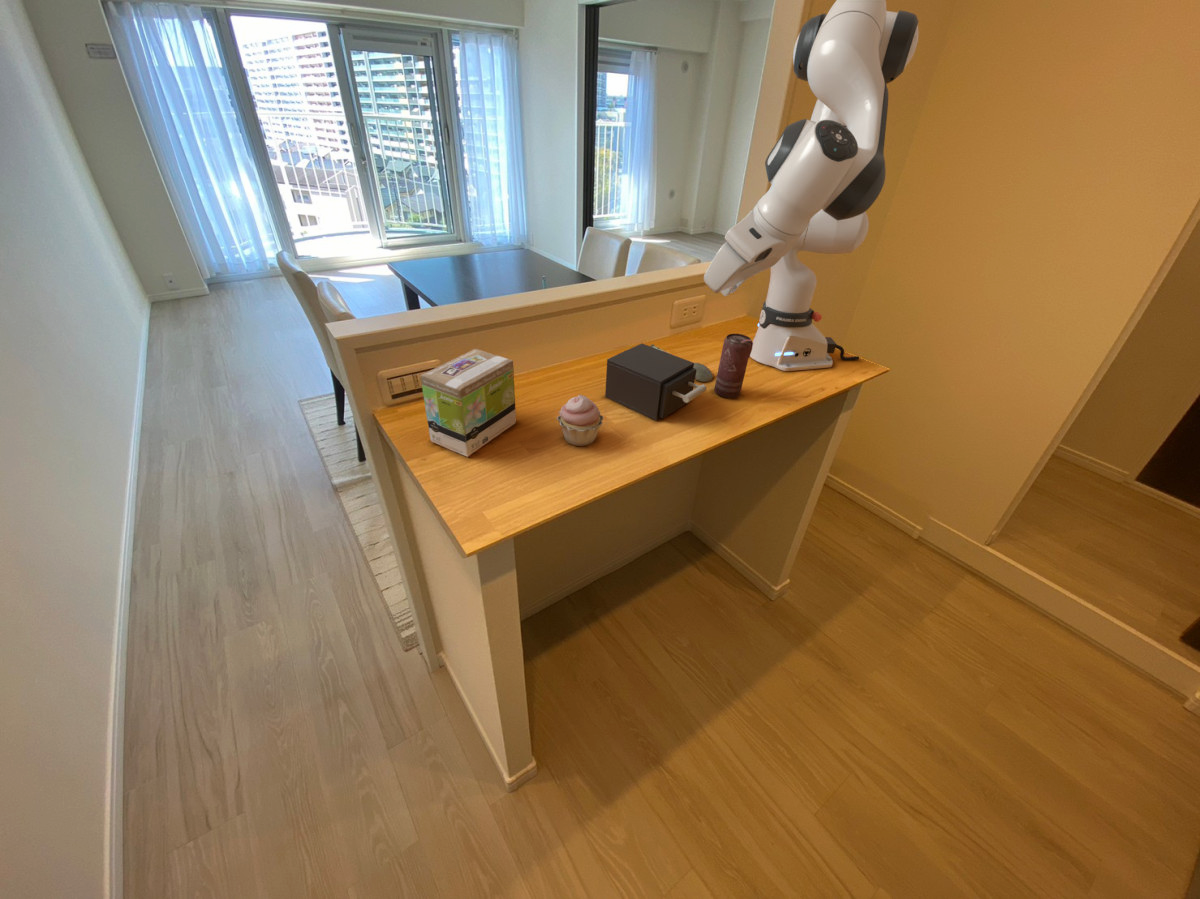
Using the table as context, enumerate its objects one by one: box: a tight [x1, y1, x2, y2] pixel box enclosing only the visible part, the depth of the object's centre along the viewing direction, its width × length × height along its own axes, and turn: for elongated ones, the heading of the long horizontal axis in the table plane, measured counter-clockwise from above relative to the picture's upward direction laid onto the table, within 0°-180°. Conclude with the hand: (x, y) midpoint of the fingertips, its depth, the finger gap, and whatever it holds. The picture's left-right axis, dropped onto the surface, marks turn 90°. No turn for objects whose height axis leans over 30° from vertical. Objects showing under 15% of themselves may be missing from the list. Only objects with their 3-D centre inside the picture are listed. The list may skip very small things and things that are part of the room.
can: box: [714, 333, 753, 400], centre depth 113 cm, size 6×6×14 cm
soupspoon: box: [649, 344, 714, 383], centre depth 128 cm, size 22×3×7 cm
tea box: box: [420, 348, 517, 458], centre depth 95 cm, size 15×10×15 cm, turn 151°
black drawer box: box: [604, 343, 695, 422], centre depth 111 cm, size 15×13×10 cm
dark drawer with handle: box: [658, 368, 707, 419], centre depth 109 cm, size 18×11×8 cm, turn 49°
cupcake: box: [556, 394, 604, 447], centre depth 96 cm, size 9×9×10 cm
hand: (726, 291), depth 93 cm, fingers closed
